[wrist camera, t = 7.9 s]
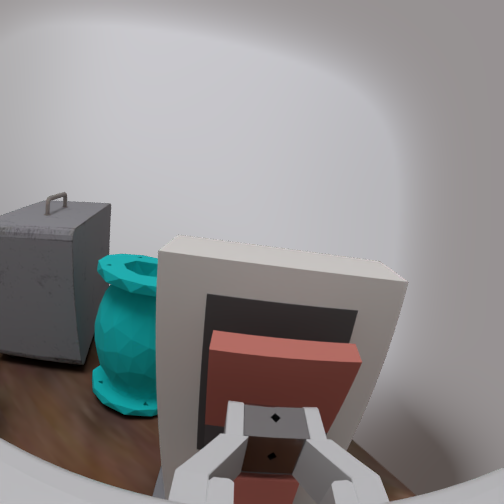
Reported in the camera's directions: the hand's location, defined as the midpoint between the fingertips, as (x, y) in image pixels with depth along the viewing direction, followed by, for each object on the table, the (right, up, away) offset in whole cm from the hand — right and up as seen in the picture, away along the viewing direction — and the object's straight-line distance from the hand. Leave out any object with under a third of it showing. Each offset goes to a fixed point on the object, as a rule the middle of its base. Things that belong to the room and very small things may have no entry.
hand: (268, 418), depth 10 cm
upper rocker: (0, -7, +6) cm, 10 cm away
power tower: (-2, -21, +12) cm, 24 cm away
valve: (-10, -14, +35) cm, 39 cm away
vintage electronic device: (-39, -9, +43) cm, 58 cm away
